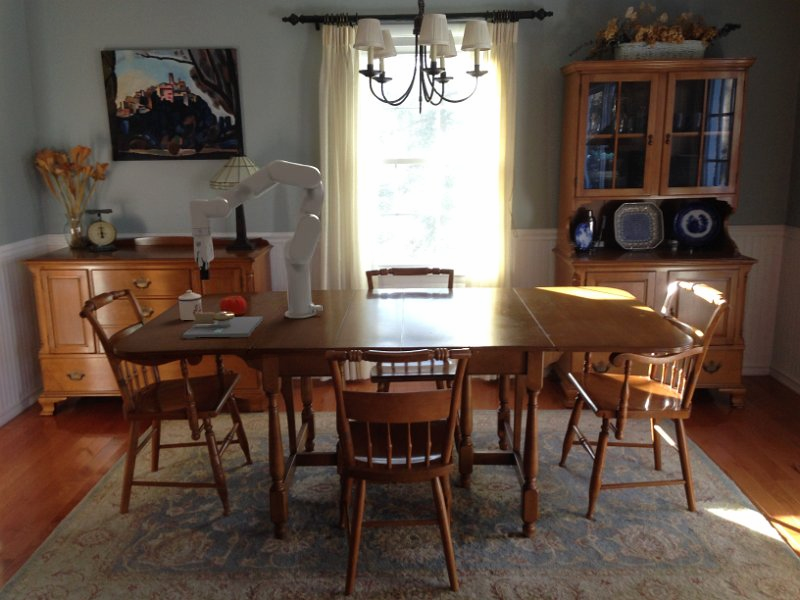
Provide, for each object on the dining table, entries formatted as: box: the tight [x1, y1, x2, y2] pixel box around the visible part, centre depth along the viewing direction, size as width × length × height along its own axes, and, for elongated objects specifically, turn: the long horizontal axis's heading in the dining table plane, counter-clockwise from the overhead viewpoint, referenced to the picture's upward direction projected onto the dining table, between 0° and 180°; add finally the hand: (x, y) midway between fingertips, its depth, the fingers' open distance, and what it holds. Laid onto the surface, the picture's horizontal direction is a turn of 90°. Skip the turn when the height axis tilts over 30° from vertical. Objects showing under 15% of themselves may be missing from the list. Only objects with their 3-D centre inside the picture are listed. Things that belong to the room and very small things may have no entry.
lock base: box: [182, 316, 264, 339], centre depth 257 cm, size 24×24×4 cm
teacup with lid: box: [177, 289, 203, 321], centre depth 275 cm, size 12×9×12 cm
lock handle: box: [194, 311, 235, 324], centre depth 256 cm, size 14×8×4 cm, turn 89°
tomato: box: [219, 295, 248, 317], centre depth 278 cm, size 11×11×8 cm
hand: (205, 279), depth 261 cm, fingers closed
